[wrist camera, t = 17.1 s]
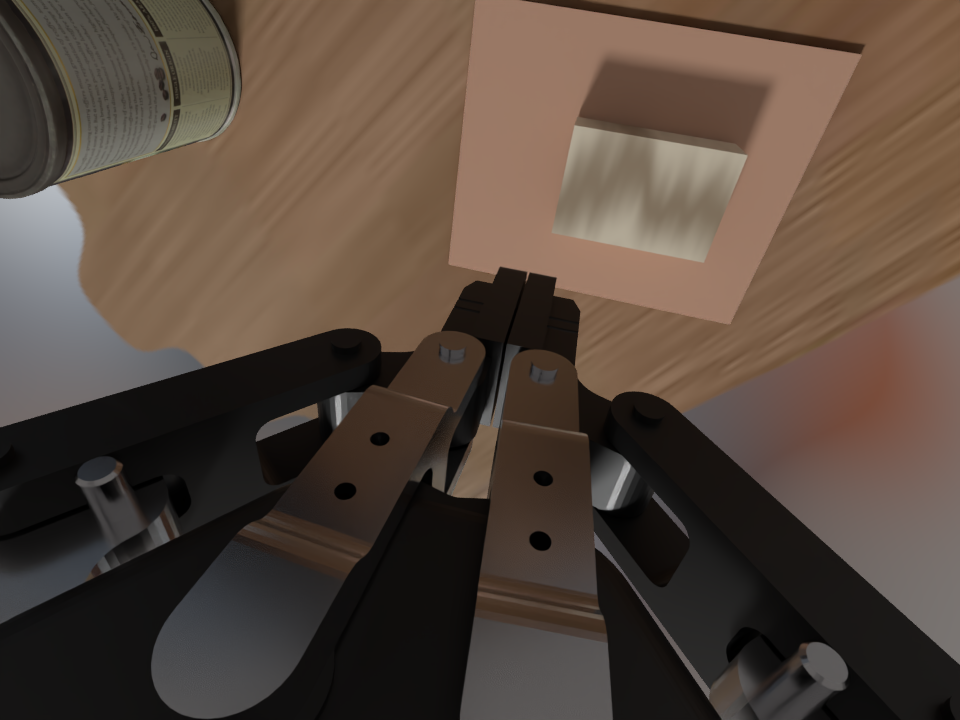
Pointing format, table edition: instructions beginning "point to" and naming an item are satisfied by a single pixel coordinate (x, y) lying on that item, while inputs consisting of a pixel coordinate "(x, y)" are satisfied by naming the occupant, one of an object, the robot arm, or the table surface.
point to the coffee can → (107, 85)
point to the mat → (641, 103)
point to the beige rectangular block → (646, 188)
